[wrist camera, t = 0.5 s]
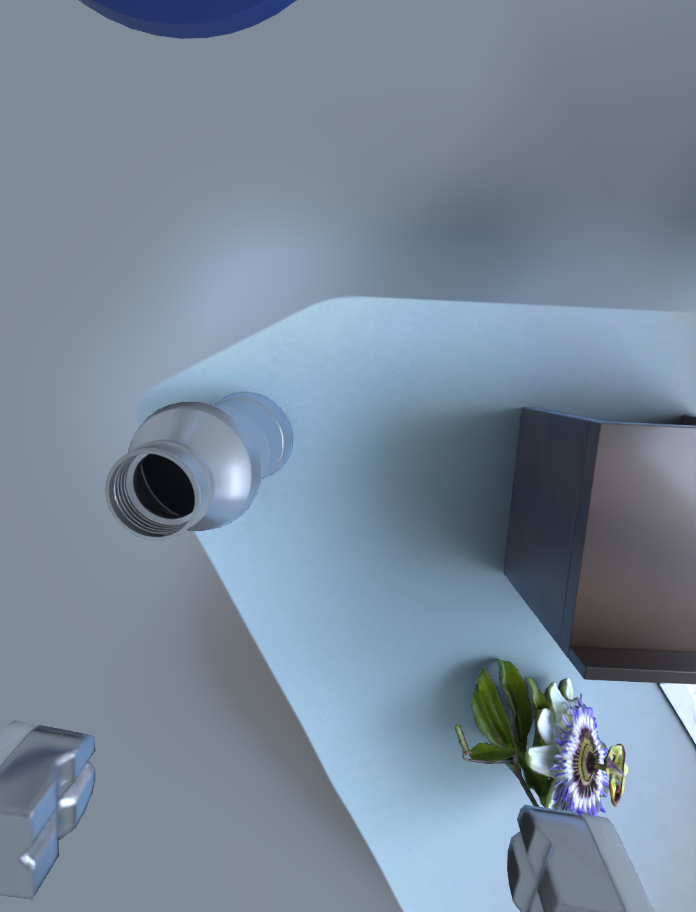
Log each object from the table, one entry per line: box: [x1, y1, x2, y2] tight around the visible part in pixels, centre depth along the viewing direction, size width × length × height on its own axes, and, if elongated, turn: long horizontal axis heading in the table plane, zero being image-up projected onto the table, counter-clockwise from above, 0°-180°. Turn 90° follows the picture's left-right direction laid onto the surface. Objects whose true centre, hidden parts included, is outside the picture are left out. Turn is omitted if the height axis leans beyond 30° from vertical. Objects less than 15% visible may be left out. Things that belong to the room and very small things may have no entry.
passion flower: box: [455, 659, 628, 816], centre depth 38 cm, size 11×11×12 cm
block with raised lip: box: [504, 407, 696, 685], centre depth 32 cm, size 14×14×14 cm
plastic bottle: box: [105, 392, 293, 540], centre depth 28 cm, size 6×7×20 cm
